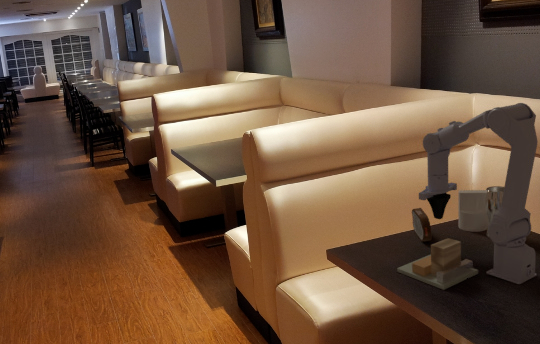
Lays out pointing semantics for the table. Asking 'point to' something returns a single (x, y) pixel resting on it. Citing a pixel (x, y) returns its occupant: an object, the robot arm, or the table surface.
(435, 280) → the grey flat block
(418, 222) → the tin
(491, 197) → the beer glass
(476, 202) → the white upright cylinder
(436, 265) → the maple block
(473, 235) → the table surface
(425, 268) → the block
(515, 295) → the table surface
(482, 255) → the table surface
